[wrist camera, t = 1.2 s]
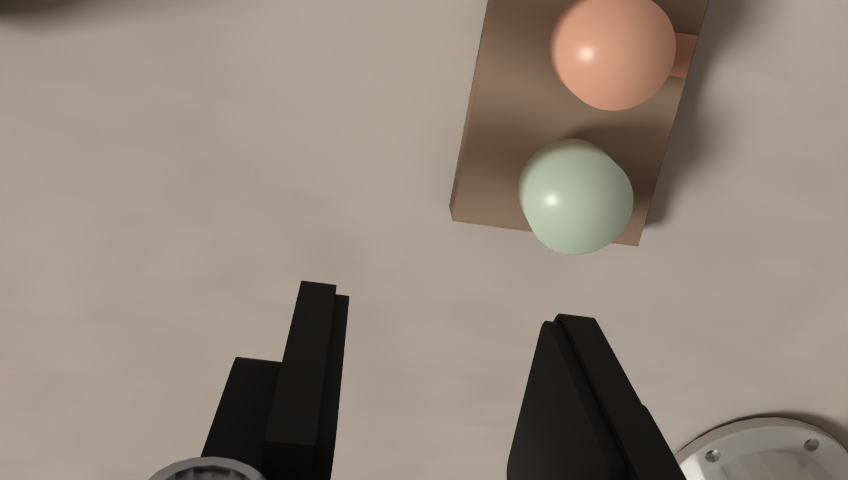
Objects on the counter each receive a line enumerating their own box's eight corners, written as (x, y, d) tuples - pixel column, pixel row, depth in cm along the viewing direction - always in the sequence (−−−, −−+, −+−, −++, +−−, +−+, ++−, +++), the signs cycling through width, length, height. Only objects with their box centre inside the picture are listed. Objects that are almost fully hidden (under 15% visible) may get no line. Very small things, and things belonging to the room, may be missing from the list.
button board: (625, 231, 38) (639, 248, 36) (449, 206, 37) (452, 222, 35) (737, -168, 32) (761, -175, 30) (527, -210, 31) (537, -220, 29)
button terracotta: (639, 105, 32) (657, 118, 30) (538, 89, 32) (550, 101, 30) (668, -2, 31) (690, 3, 29) (562, -20, 30) (576, -17, 28)
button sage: (603, 240, 35) (617, 261, 32) (508, 227, 34) (517, 247, 32) (628, 146, 33) (646, 162, 31) (529, 131, 33) (540, 146, 30)
